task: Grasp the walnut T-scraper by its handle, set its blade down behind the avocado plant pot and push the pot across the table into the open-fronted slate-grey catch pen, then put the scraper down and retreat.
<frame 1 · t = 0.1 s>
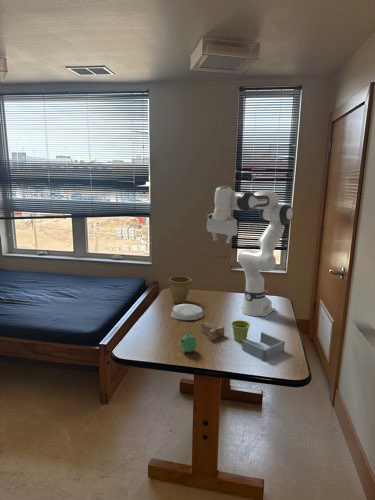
hand: (221, 241, 186), 48 cm above the table, fingers open, 8 cm apart
alien toy: (188, 351, 163), on the table
plant pot: (179, 302, 231), on the table
catch pen: (262, 350, 165), on the table
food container: (187, 315, 208), on the table
plant pot 2: (240, 340, 176), on the table
scraper: (211, 335, 181), on the table
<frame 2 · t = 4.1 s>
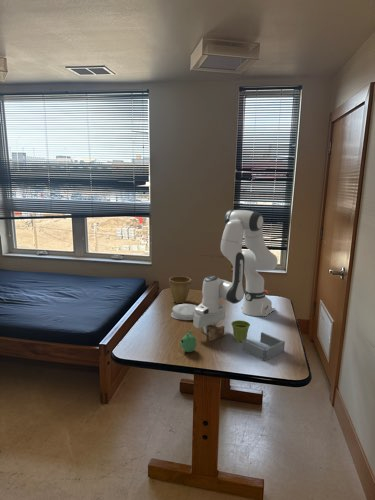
hand: (209, 331, 181), 2 cm above the table, fingers closed on scraper, 3 cm apart
scraper: (211, 335, 181), on the table, touching gripper
everything else where it was.
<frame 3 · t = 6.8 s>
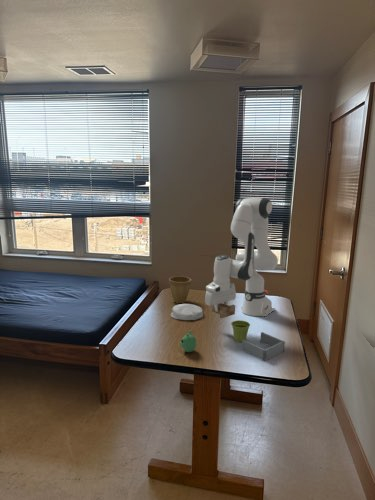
hand: (220, 310, 184), 12 cm above the table, fingers closed on scraper, 3 cm apart
scraper: (222, 313, 183), point 10 cm above the table, touching gripper
everything else where it was.
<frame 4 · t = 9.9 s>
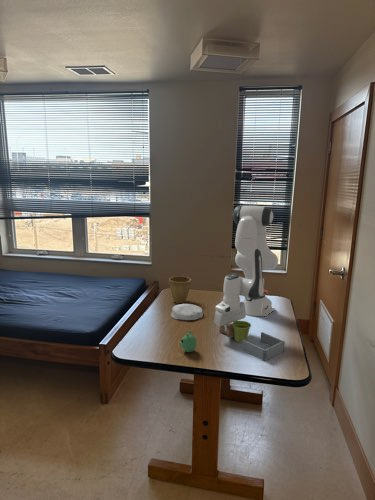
hand: (230, 329, 180), 3 cm above the table, fingers closed on scraper, 3 cm apart
plant pot 2: (240, 340, 175), on the table, touching scraper
scraper: (229, 333, 181), point 1 cm above the table, tilted 8°, touching gripper, plant pot 2
everything else where it was.
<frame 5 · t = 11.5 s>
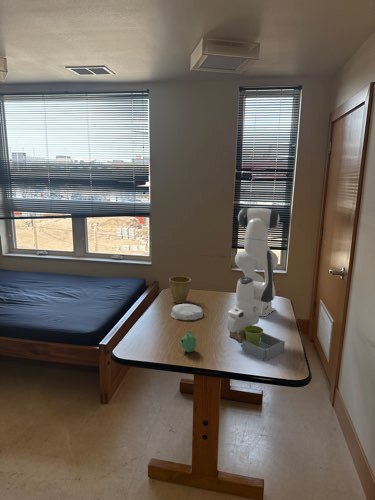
hand: (243, 335, 173), 3 cm above the table, fingers closed on scraper, 3 cm apart
plant pot 2: (252, 346, 169), on the table, touching scraper
scraper: (240, 338, 175), point 1 cm above the table, tilted 8°, touching gripper, plant pot 2
everything else where it was.
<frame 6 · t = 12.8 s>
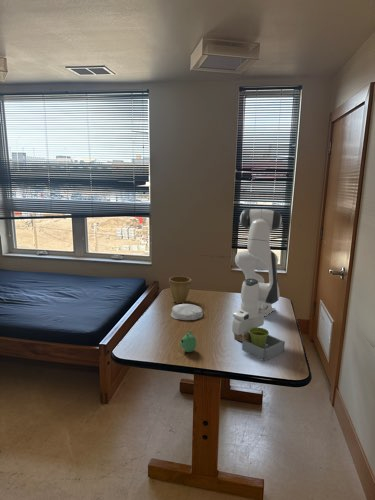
hand: (247, 337, 171), 3 cm above the table, fingers closed on scraper, 3 cm apart
plant pot 2: (257, 348, 167), on the table, touching scraper
scraper: (245, 340, 173), point 1 cm above the table, tilted 7°, touching gripper, plant pot 2
everything else where it was.
when the fingers open (2 cm above the table, at t = 14.9 s): scraper stays where it is, on the table.
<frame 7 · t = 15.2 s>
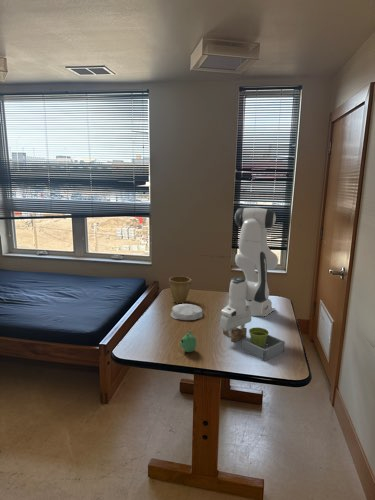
hand: (235, 333, 178), 2 cm above the table, fingers open, 6 cm apart
plant pot 2: (257, 348, 167), on the table
scraper: (233, 336, 179), on the table
everything else where it was.
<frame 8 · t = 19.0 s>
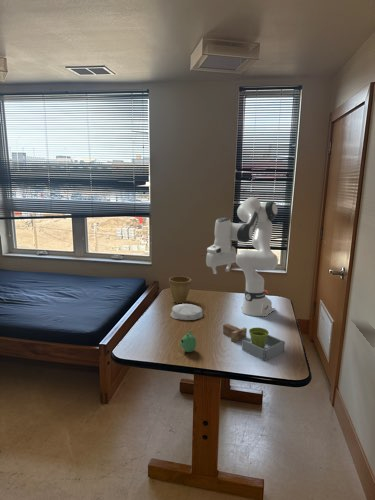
hand: (221, 272, 187), 31 cm above the table, fingers open, 8 cm apart
nothing on the table moved.
at the end: plant pot 2 inside the target area (3.3 cm from its centre), on the table; plant pot 2 moved 11.5 cm from its start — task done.
